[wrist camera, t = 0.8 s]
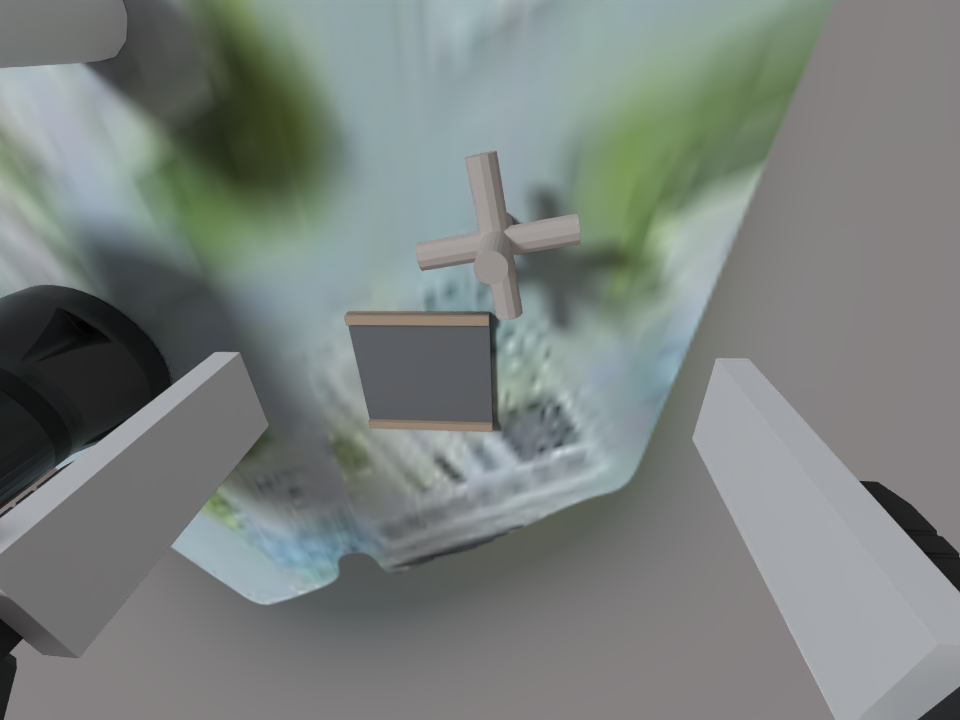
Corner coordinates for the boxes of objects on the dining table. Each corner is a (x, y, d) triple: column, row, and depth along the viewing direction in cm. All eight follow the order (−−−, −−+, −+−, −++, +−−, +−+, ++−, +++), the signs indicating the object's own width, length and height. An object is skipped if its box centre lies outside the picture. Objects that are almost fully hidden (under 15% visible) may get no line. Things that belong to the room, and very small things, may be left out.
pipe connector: (575, 277, 31) (595, 339, 23) (450, 297, 33) (425, 361, 25) (563, 131, 26) (581, 140, 18) (416, 163, 28) (370, 185, 20)
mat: (373, 421, 41) (370, 428, 40) (348, 311, 35) (344, 316, 34) (493, 425, 40) (492, 431, 39) (489, 311, 33) (488, 316, 33)
